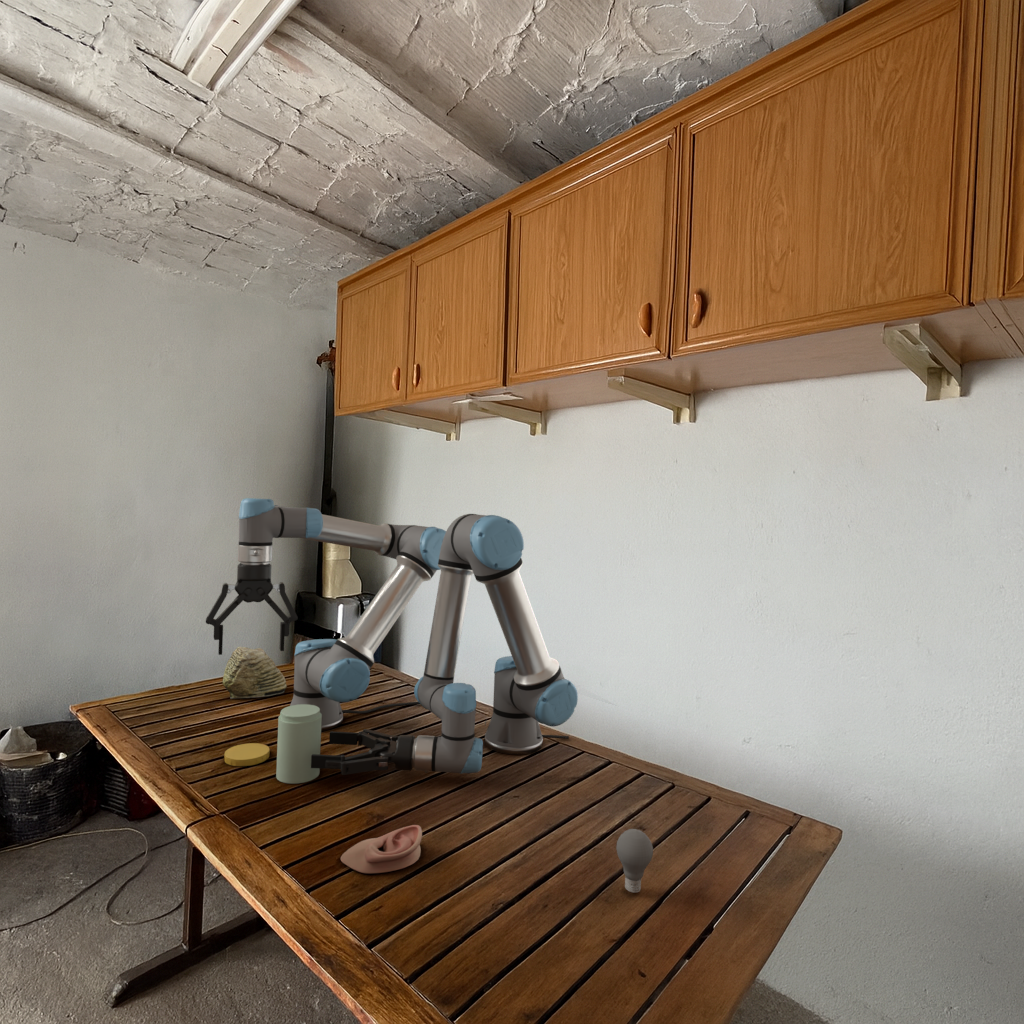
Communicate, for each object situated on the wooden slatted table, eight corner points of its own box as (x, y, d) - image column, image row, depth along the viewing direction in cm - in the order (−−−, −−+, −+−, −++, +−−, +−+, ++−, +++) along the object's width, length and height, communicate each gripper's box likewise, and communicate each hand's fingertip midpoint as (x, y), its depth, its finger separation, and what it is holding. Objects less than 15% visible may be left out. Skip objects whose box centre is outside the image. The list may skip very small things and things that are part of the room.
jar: (288, 764, 149) (291, 702, 149) (326, 768, 148) (328, 705, 147) (268, 781, 140) (270, 715, 140) (307, 785, 139) (310, 719, 138)
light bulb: (610, 879, 108) (613, 822, 108) (644, 879, 109) (647, 822, 109) (619, 902, 102) (622, 840, 102) (655, 901, 103) (658, 840, 103)
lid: (228, 769, 145) (228, 763, 145) (220, 754, 153) (220, 747, 153) (274, 761, 150) (274, 754, 150) (263, 746, 159) (264, 740, 159)
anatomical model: (332, 845, 108) (361, 813, 119) (331, 868, 108) (361, 834, 119) (406, 857, 105) (428, 823, 117) (405, 880, 106) (428, 844, 117)
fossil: (218, 695, 195) (220, 647, 195) (278, 685, 208) (279, 640, 207) (228, 703, 189) (230, 653, 188) (289, 692, 201) (290, 645, 201)
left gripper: (196, 564, 142) (192, 658, 143) (311, 564, 153) (308, 651, 153) (196, 561, 149) (193, 651, 149) (307, 561, 160) (303, 644, 160)
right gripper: (404, 794, 131) (302, 790, 131) (421, 747, 156) (335, 744, 156) (405, 759, 131) (303, 754, 131) (423, 717, 156) (337, 713, 156)
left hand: (251, 651), depth 151 cm, fingers open, 13 cm apart
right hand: (320, 748), depth 144 cm, fingers open, 13 cm apart
